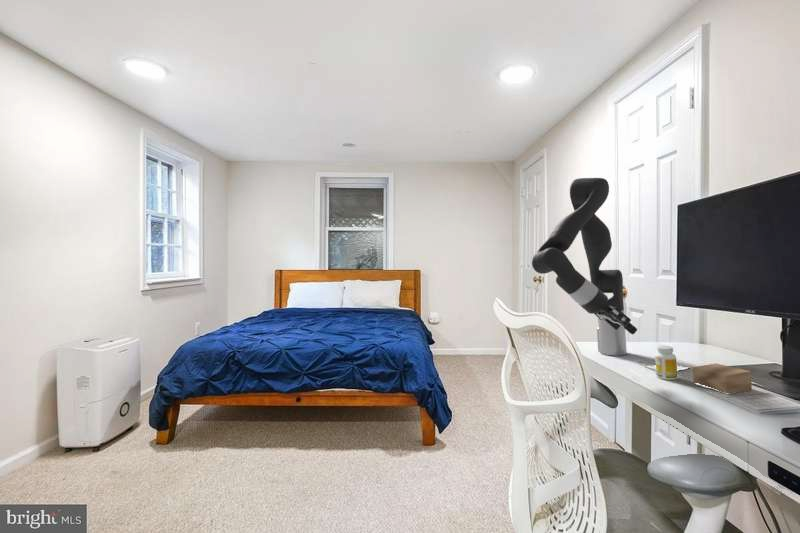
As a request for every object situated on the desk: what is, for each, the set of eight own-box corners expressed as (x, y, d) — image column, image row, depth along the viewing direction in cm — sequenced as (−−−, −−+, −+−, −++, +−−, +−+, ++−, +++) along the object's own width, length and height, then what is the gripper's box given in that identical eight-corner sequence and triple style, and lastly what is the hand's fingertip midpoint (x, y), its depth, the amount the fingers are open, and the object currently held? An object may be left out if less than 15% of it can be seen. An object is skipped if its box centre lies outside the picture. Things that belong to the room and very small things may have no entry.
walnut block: (693, 384, 108) (692, 367, 108) (716, 379, 110) (715, 363, 110) (727, 394, 100) (726, 375, 99) (751, 389, 102) (750, 371, 102)
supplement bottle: (653, 378, 116) (651, 347, 116) (659, 374, 119) (657, 344, 119) (674, 381, 111) (672, 350, 111) (679, 377, 115) (677, 346, 115)
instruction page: (646, 367, 126) (646, 366, 126) (666, 362, 130) (666, 361, 130) (669, 373, 119) (669, 372, 119) (690, 368, 122) (690, 367, 122)
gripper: (607, 287, 108) (649, 324, 108) (584, 285, 122) (620, 317, 122) (590, 306, 108) (632, 343, 108) (569, 302, 122) (605, 334, 122)
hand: (626, 329), depth 115 cm, fingers open, 8 cm apart
